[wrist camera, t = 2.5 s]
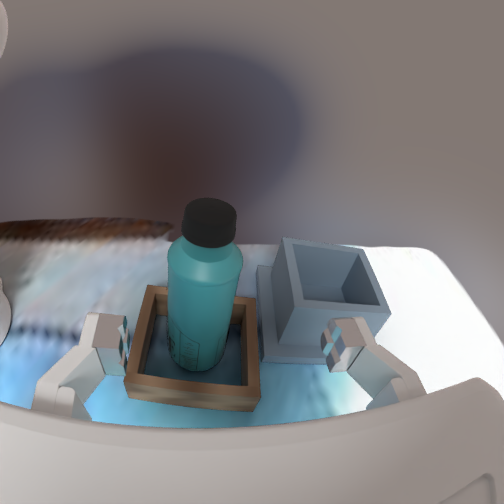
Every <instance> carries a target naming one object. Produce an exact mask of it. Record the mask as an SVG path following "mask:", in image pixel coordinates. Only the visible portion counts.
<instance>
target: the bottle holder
mask: <svg viewBox="0 0 504 504" xmlns="http://www.w3.org/2000/svg"><path fill="white" fill-rule="evenodd" d="M256 279H257V295H258V311H259V328H260V344H261V361H262V362H269V363H290V364H327V363H326V358H327V355H326V354H325V353H323V352H322V349H321V344H320V340H321V335H322V333H323V331H324V330H325V329H327V328H328V326H327V322H328V321H329V320H330V319H331V318H344V317H363V318H364V319H365V321H366V323H367V325H368V327H369V329H370V331H371V333H372V335H373V337H375V336H376V334H377V333H378V332H379V330H380V329H381V327H382V326H383V325H384V323H385V322H386V321H387V319H388V318H389V316H390V315H391V311H390V309H389V306H388V304H387V302H386V299H385V297H384V295H383V292H382V290H381V288H380V285H379V283H378V281H377V278H376V276H375V274H374V272H373V269H372V267H371V265H370V263H369V261H368V258H367V256H366V254H365V252H364V250H363V249H359V248H352V247H346V246H339V245H333V244H327V243H319V242H313V241H307V240H300V239H293V238H287V237H282V241H281V243H280V247H279V250H278V253H277V256H276V259H275V262H274V266H273V267H269V266H261V265H258V267H257V271H256Z"/></svg>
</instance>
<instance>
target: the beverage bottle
mask: <svg viewBox="0 0 504 504" xmlns="http://www.w3.org/2000/svg"><path fill="white" fill-rule="evenodd" d="M236 217H237V215H236V211H235V209H234V208H233V207H232V206H231V205H230V204H228V203H226V202H224V201H221V200H219V199H213V198H200V199H196V200H193V201H191V202H190V203H189V204H188V205H187V206H186V208H185V212H184V218H183V222H182V229H181V231H182V235H183V236H181V237H180V238H178V239H177V240H175V241H174V242H173V243H172V245H171V246H170V248H169V250H168V256H167V260H168V288H166V290H167V289H168V317H167V316H166V317H167V318H168V336H167V337H169V338H168V339H169V349H168V350H169V352H170V354H171V356H172V359H174V361H175V362H176V363H177V364H178V365H179V366H181V367H183V368H185V369H187V370H190V371H205V370H208V369H210V368H212V367H213V366H215V365H216V364H218V362H219V360H220V359H221V357H222V356H223V353H224V346H225V343H227V340H226V337H227V339H228V336H227V333H228V334H229V331H228V328H229V330H230V327H229V323H230V322H231V321H232V320H231V321H230V319H231V318H232V316H231V314H232V310H233V303H234V298H235V294H236V289H237V284H238V280H239V275H240V271H241V269H242V266H243V257H242V253H241V251H240V250H239V248H238V247H237V246H236V245H235V244H234V243H233V242H232V241H233V239H234V237H235V231H236ZM166 306H167V305H166ZM166 315H167V314H166ZM167 318H166V319H167ZM230 325H231V324H230ZM167 344H168V343H167ZM167 346H168V345H167ZM225 348H226V347H225ZM220 361H221V360H220Z"/></svg>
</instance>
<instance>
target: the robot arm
mask: <svg viewBox="0 0 504 504" xmlns="http://www.w3.org/2000/svg"><path fill="white" fill-rule="evenodd" d="M7 34H8V20H7V14H6V11H5V8H4V6H3V4H2V3H1V1H0V58H1V56H2V53H3V51H4V47H5V44H6V40H7ZM10 321H11V308H10V304H9V301H8V299H7V297H6V296H5V294H4V292H3V287H2V279H1V277H0V345H1V344H2V342H3V340H4V339H5V337H6V334H7V332H8V329H9V326H10ZM126 326H127V319H126V316H122V315H112V314H102V313H92V312H88V314H87V315H86V319H85V322H84V326H83V330H82V334H81V337H80V341H79V345H78V346H74V347H73V348H72V349H71V350H70V351H69V352H67V353H66V354H65V355H64V356H63V357H62V358H61V359H60V360H59V361H58V362H57V363H56V364H55V365H54V366H53V367H52V368H51V369H50V370H48V371H47V372H46V373H45V374H44V375H43V376H42V377H41V378H40V379H39V380H38V382H37V386H36V390H35V394H34V398H33V402H32V407H31V409H27V408H23V407H19V406H15V405H12V404H8V403H5V402H1V401H0V504H504V400H503V399H502V397H501V395H500V394H499V392H498V391H497V390H496V389H495V388H493V387H492V386H491V385H489V384H488V383H487V382H485V381H484V380H482V379H481V378H472V379H469V380H467V381H464V382H461V383H459V384H456V385H453V386H450V387H447V388H444V389H441V390H438V391H435V392H432V393H429V394H427V393H426V391H425V389H424V387H423V385H422V383H421V381H420V379H419V377H418V375H417V373H416V372H415V371H414V370H412V369H411V368H410V367H408V366H407V365H406V364H405V363H403V362H402V361H401V360H399V359H398V358H397V357H395V356H394V355H393V354H391V353H390V352H389V351H388V350H386V349H385V348H384V347H382V346H381V345H377V343H376V341H375V339H374V337H373V335H372V333H371V331H370V329H369V327H368V325H367V323H366V321H365V319H364V318H363V317H344V318H331V319H330V320H329V321H328V322H327V326H328V328H327V329H325V330H324V331H323V333H322V335H321V340H320V344H321V349H322V352H323V353H325V354H326V355H327V358H326V363H327V366H328V369H329V372H330V373H333V372H343V371H347V373H348V374H349V375H350V376H351V377H352V378H353V379H354V380H355V381H356V382H357V383H358V384H359V385H360V386H361V387H362V388H363V389H364V390H365V391H366V392H367V393H368V394H369V395H370V396H371V397H372V398H373V400H372V401H371V402H370V403H369V404H368V405H367V407H366V410H364V411H360V412H355V413H350V414H345V415H339V416H334V417H328V418H321V419H315V420H308V421H301V422H293V423H284V424H274V425H263V426H250V427H231V428H163V427H145V426H132V425H121V424H112V423H103V422H96V421H92V418H91V416H90V415H89V413H88V412H87V410H86V409H85V407H84V405H83V404H84V403H85V402H86V400H87V399H88V398H89V397H90V395H91V394H92V393H93V391H94V390H95V389H96V388H97V386H98V385H99V384H100V382H101V381H102V380H103V379H104V377H105V375H117V376H126V371H127V363H128V361H127V357H126V355H127V354H128V353H129V344H130V337H129V329H127V328H126Z"/></svg>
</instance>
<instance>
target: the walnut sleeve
mask: <svg viewBox="0 0 504 504" xmlns="http://www.w3.org/2000/svg"><path fill="white" fill-rule="evenodd" d="M166 288H167V287H160V286H153V285H147V288H146V292H145V295H144V299H143V303H142V306H141V310H140V314H139V318H138V322H137V325H136V329H135V333H134V337H133V341H132V346H131V350H130V354H129V358H128V363H127V371H126V376H124V381H123V382H124V385H125V388H126V391H127V394H128V397H129V398H132V399H138V400H144V401H150V402H156V403H163V404H170V405H177V406H186V407H194V408H204V409H215V410H229V411H246V412H253V411H254V409H255V407H256V405H257V403H258V402H259V400H260V398H261V392H260V373H259V354H258V336H257V317H256V299H255V298H247V297H238V296H235V298H234V303H233V310H232V314H231V316H232V318H231V319H230V321H231V320H232V321H231V322H230V323H229V324H238V325H241V386H237V385H224V384H213V383H203V382H194V381H185V380H177V379H170V378H163V377H156V376H150V375H144V371H145V366H146V361H147V355H148V350H149V345H150V340H151V336H152V331H153V326H154V321H155V317H156V314H158V315H165V316H168V289H167V290H166ZM166 305H167V306H166ZM166 314H167V315H166Z"/></svg>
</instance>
